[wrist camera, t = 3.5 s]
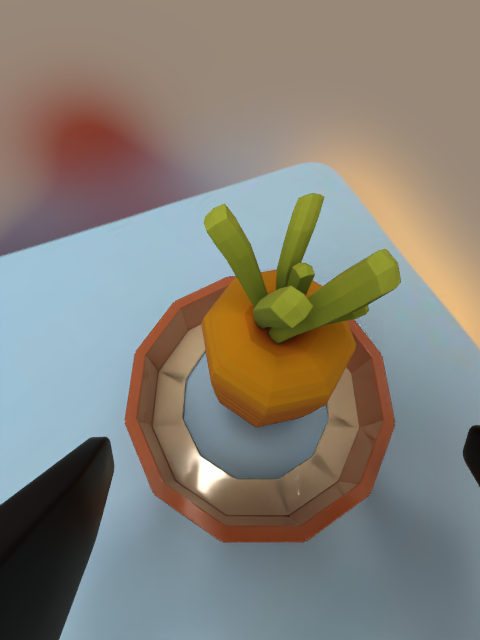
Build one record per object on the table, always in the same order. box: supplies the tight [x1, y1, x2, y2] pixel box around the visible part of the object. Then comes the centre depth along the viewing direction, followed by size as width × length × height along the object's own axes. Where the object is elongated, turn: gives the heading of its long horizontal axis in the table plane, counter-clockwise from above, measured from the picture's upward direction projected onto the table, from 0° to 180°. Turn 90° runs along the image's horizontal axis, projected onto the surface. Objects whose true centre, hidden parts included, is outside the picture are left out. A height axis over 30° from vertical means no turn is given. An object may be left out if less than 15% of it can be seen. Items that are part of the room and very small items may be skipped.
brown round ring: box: [125, 276, 395, 542], centre depth 18 cm, size 13×13×4 cm
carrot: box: [202, 193, 401, 427], centre depth 13 cm, size 5×5×15 cm
